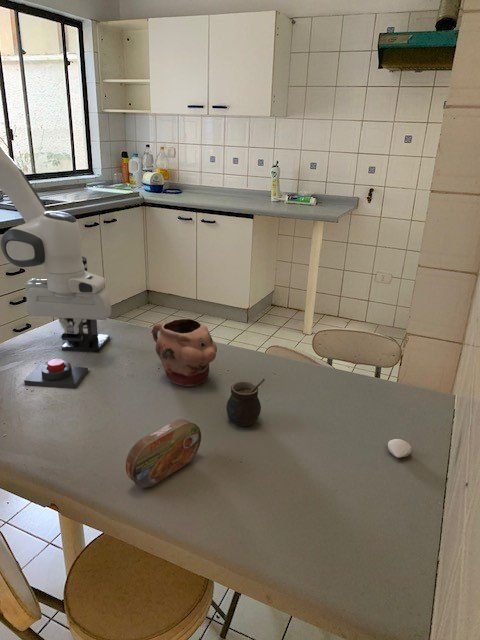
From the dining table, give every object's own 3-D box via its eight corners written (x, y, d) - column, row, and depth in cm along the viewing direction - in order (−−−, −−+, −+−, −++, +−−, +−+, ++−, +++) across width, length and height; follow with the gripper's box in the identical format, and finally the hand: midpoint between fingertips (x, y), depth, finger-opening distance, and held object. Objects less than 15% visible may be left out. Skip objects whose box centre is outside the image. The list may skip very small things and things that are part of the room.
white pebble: (410, 450, 90) (413, 440, 89) (408, 466, 86) (410, 455, 85) (388, 444, 91) (390, 433, 90) (384, 459, 87) (386, 448, 86)
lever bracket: (99, 352, 123) (95, 307, 118) (62, 350, 124) (56, 305, 119) (109, 338, 132) (106, 296, 127) (75, 336, 132) (70, 294, 127)
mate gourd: (222, 412, 100) (224, 371, 96) (257, 409, 101) (259, 368, 97) (229, 432, 93) (230, 388, 89) (265, 428, 95) (268, 386, 91)
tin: (135, 497, 76) (132, 455, 73) (124, 487, 78) (121, 446, 74) (202, 455, 86) (202, 416, 83) (191, 447, 88) (191, 409, 85)
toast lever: (82, 342, 118) (79, 337, 116) (63, 341, 118) (60, 336, 116) (95, 306, 125) (92, 300, 123) (76, 305, 125) (74, 299, 123)
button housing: (24, 385, 107) (22, 373, 105) (40, 368, 114) (39, 357, 113) (75, 388, 106) (74, 377, 105) (88, 371, 113) (87, 360, 112)
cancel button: (45, 371, 107) (44, 365, 107) (52, 364, 111) (51, 358, 110) (60, 372, 107) (59, 366, 107) (66, 365, 111) (66, 359, 110)
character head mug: (134, 374, 113) (131, 321, 108) (166, 355, 123) (165, 307, 118) (200, 399, 104) (200, 343, 99) (229, 377, 114) (231, 325, 108)
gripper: (17, 282, 109) (25, 335, 114) (103, 287, 108) (107, 340, 114) (30, 274, 115) (37, 325, 120) (111, 279, 114) (115, 330, 119)
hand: (72, 333), depth 117 cm, fingers closed, pressing on toast lever
